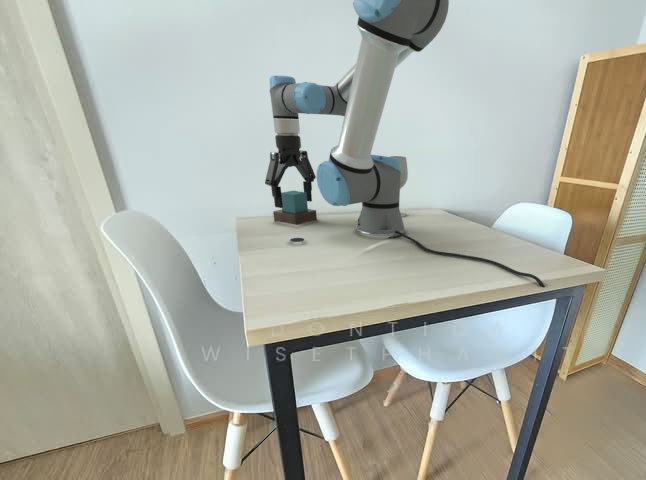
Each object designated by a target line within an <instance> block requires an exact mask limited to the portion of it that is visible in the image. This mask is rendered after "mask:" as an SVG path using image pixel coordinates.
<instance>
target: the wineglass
mask: <svg viewBox="0 0 646 480" xmlns="http://www.w3.org/2000/svg"><path fill="white" fill-rule="evenodd" d="M389 157H393V158H397V159H398V160H399V161H400V171H401V175H400V190H401V189H402V188H403V187H405V185H406V183H407V181H408V177H409V174H408V173H409V172H408V161H407V157H406V156H401V155H390V156H389ZM400 213H401V217H402V218H403V217H406V213H404V212H400Z"/></svg>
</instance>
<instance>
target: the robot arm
mask: <svg viewBox="0 0 646 480" xmlns="http://www.w3.org/2000/svg"><path fill="white" fill-rule="evenodd" d="M449 5H450V1H449V0H353V1H352V6H353V9H354V11H355V13H356V14H357V17H358V19H357V24H356V27H357V29H358V31H359V33H360V37H361V40H360V45H359V49H358V53H357V57H356V62H355V64H354V65H353V66H352V67H351V68H350V69H349V70H348V71H347V72H346V73H345V74H344V75H343V76H342V78H340V79H339V80H338V82H336V83H335V85H333V86H332V85H322V84H318V83H316V82H308V81H303V82H298V83H297V81H296V79H295V77H293V76H289V75H271V76H270V77H269V94H270V95H269V96H270V102H271V111H272V117H273V118H272V119H273V120H272V121H273V128H274V133H275V134H276V135H275V137H274V140H275V146H276V148H277V150H278V151H270V153H269V163H268V168H267V172H266V176H265V180H264V183H265V185H267V186H269V187H270V188H271V197H273V201H274V207H275V208H279V209H282V208H283V204H282V195H281V193H282V187H281V186H279V185H280V183H281V180H282V179H283V177H284V174H285V172H286V170H287V169H288V168H292V167H294V168H296V170H297V171H298V173H299V174H300V175H301V177H302V178H303V180H304V181H302V185H303V192H306V193H307V202H309V203H310V202H313V196H312V195H313V194H312V191H313V182H315V180H316V183H317V187H318V190H319V192H320V194H321V196H322V198H323V199H324V201H326V203H328V204H329V205H331V206H333V207H340V206H342V207H347V206H348V205H349V206H350V205H354V204H361V209H360V214H359V217H357V218H358V219H357V222H356V223H357V224H356V231H357V232H359V233H361V234H363V235H367V236H374V237H388V239H392V238H397V237H400V236H401V237H403V238H405V239H407V240H409V241H411V242H413V243H414V244H416V245H417V246H418V247H420V248H421V249H422V250H423V251H426V252H428V253H432V254H435V255H441V256H449V257H457V258H463V259H469V260H474V261H475V260H476V261H479V262H485V263H488V264H492V265H494V266H497V267H500V268H502V269H504V270H506V271H508V272H510V273H512V274H515V275H517V276H521V277H527V278H531V279H533V280H535V281H536V282H537V283H538V284H539V286H540V287H541V288H546V285H545V284H544V283H543V281H542V280H541V279H540V278H539V277H538V276H537V275H534V274H531V273H529V272H521V271H518V270H515V269H513V268H511V267H509V266H507V265H505V264H503V263H500V262H498V261H495V260H492V259H487V258H483V257H479V256H472V255H468V254H467V255H466V254H462V253H461V254H460V253H455V252H446V251H439V250H434V249H431V248H427V247H426V246H424V245H423V244H422V243H420V242H419V241H418V240H416V239H414V238H412V237H410V236H408V235H406V234H404V233H405V225H404V220H403V217H401V213H402V212H401V210H400V198H401V194H400V193H401V189H400V175H401V171H400V161H399V160H398V159H397V158H393V157H390V156H387V155H379V154H372V150H373V148H374V145H375V144H374V143H375V140H376V137H377V133H378V129H379V127H380V122H381V119H382V116H383V112H384V108H385V105H386V101H387V98H388V96H389V95H388V94H389V92H390V88H391V84H392V82H393V81H392V80H393V78H394V74H395V70H396V69H397V67H399V66H400V65H401V64H402V63H403V62H404V61H405V60H406V59H408V58H409V56H411V55H412V54H413V53H414V52H415V53H420V52H422V51H423V50H424V49H425V48H426V47H427V46H429V44H430V43H431V42H433V40H434V39H435V38H436V37H437V36H438V34H439V33H440V31H441V30H442V28H443V26H444V24H445V22H446V19H447V17H448V12H449ZM299 114H305V115H329V116H340V117H343V121H342V126H341V131H340V135H339V140H338V144H336V145H335V146H333V147H331V149H330V151H329V157H328V160H324V161H322V162H321V163H320V164H318V167H317V169H316V173H315V172H314V169H313V166H312V165H311V162H310V160H309V156H308V155H309V154H308V150H300V149H301V148H302V141H301V140H302V139H301V136H300V134H301V130H300V129H301V128H300V119H299Z"/></svg>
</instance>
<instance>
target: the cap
mask: <svg viewBox="0 0 646 480" xmlns="http://www.w3.org/2000/svg"><path fill="white" fill-rule="evenodd" d="M289 241H290V242H293V243H300V242H303V241H305V238H303V237H293V238H290V239H289Z"/></svg>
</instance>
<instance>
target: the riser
mask: <svg viewBox="0 0 646 480" xmlns="http://www.w3.org/2000/svg"><path fill="white" fill-rule="evenodd" d="M272 214H273V221H274V223H277V222H280V223H285V224H288V225H289V224H290V225H295V226H297V225H301V224H304V223H309V222H312V221H315V222H318V217H317V210H316V209H311V208H308V211H304V212H300V213H296V214H295V213H290V212H284V211H282V208H280V209H278V210H273V211H272Z"/></svg>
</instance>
